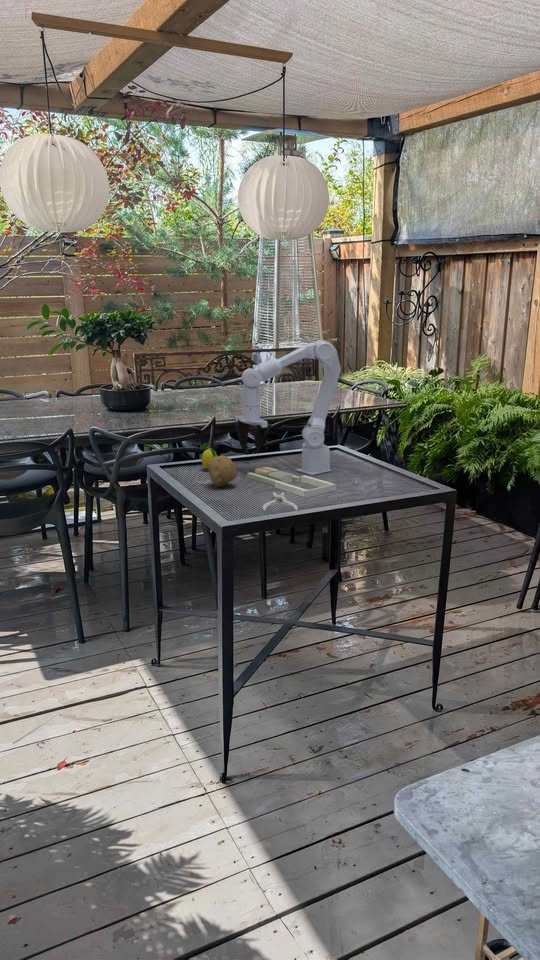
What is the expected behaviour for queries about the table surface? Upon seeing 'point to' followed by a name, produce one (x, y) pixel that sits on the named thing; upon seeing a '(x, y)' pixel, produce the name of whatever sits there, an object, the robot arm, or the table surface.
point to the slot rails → (268, 480)
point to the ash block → (264, 471)
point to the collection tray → (322, 488)
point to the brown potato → (222, 470)
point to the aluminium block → (281, 476)
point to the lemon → (207, 454)
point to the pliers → (279, 498)
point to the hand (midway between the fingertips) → (251, 445)
